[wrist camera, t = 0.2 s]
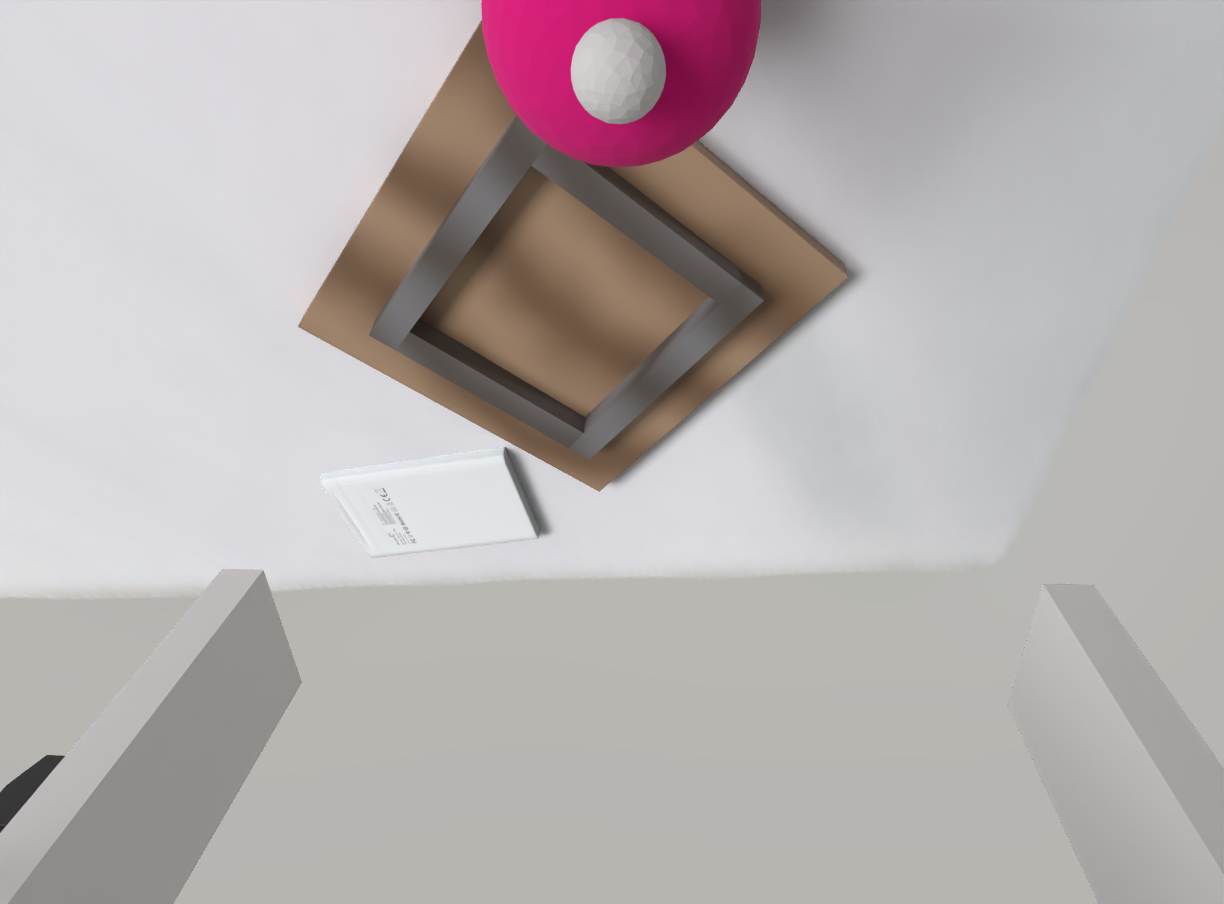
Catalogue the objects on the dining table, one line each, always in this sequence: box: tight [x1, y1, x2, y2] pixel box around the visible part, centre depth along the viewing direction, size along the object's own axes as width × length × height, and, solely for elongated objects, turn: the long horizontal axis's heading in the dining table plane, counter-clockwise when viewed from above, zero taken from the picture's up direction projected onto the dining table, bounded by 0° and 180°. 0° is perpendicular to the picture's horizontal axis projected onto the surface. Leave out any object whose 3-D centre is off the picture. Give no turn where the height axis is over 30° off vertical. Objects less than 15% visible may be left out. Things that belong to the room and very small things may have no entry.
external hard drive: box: [320, 447, 540, 558], centre depth 51 cm, size 2×8×12 cm
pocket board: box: [298, 20, 848, 492], centre depth 39 cm, size 20×20×3 cm
